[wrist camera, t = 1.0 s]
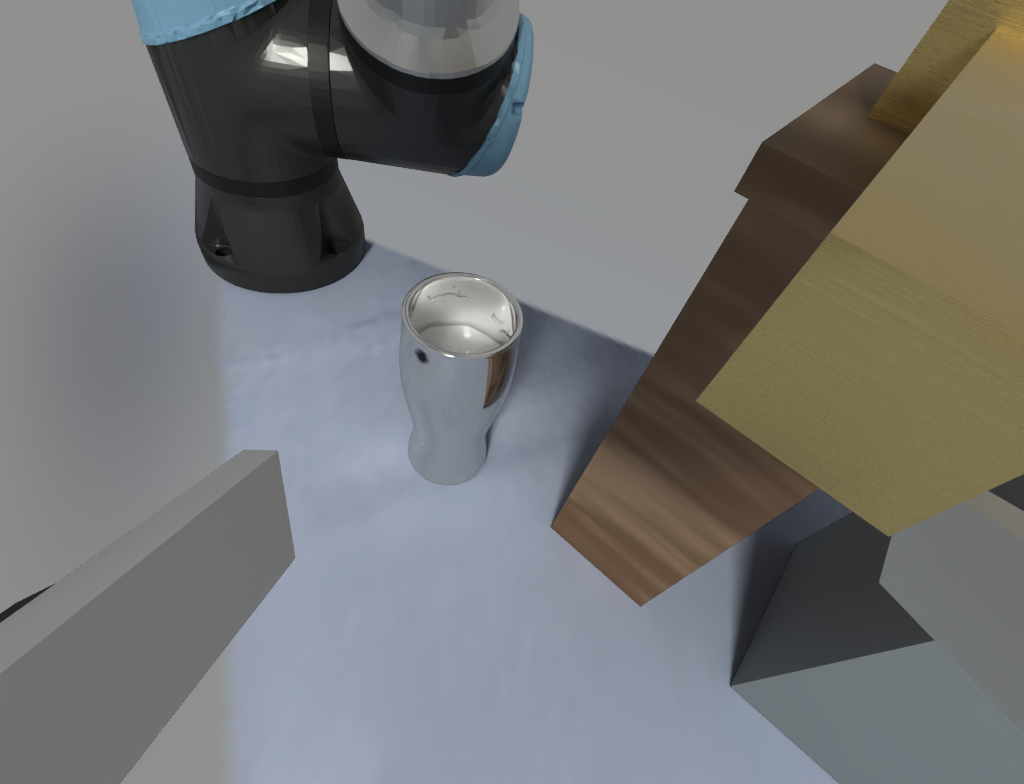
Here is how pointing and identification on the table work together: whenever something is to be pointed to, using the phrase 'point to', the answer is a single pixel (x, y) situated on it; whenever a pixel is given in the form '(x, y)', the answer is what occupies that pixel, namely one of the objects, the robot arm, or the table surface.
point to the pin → (909, 298)
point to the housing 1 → (723, 363)
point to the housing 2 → (871, 673)
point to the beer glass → (456, 370)
